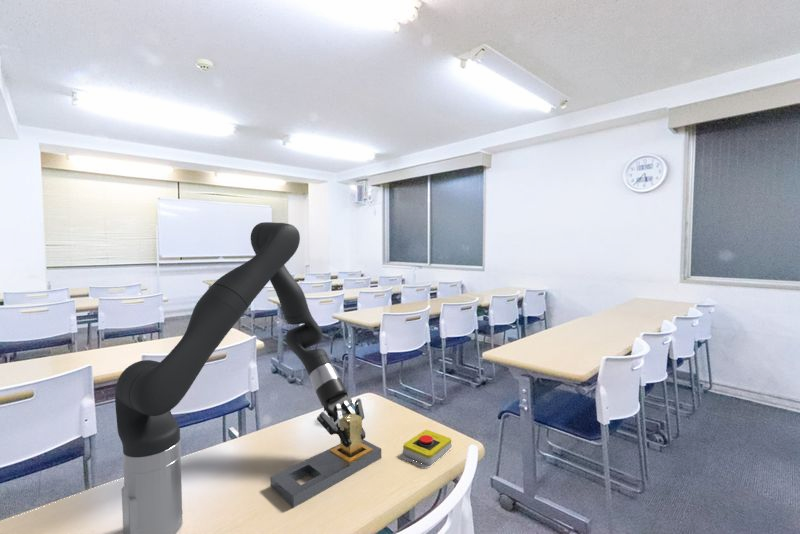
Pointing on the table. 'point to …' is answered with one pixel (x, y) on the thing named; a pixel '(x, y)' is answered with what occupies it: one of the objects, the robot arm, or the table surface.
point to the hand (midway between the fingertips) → (356, 442)
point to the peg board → (321, 472)
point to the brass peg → (352, 434)
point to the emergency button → (426, 448)
